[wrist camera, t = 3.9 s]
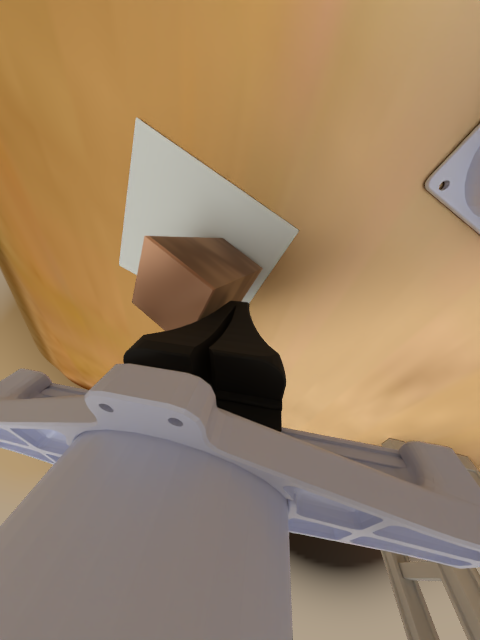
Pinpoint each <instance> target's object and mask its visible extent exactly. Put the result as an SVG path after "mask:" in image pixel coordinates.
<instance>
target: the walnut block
mask: <svg viewBox="0 0 480 640" xmlns="http://www.w3.org/2000/svg"><path fill="white" fill-rule="evenodd" d="M262 269H263V268H262V267H260V266H259V265H258V264H257V263H255V262H254V261H253V260H251V259H250V258H249V257H247V256H246V255H245V254H243V253H242V252H241V251H239V250H238V249H237V248H235V247H234V246H233V245H231V244H230V243H229V242H227V241H226V240H225V239H223V238H203V237H170V236H144V241H143V246H142V252H141V257H140V262H139V267H138V273H137V278H136V283H135V289H134V294H133V299H132V303H133V304H135V305H136V306H137V307H138V308H139V309H140V310H142V311H143V312H144V313H145V314H146V315H147V316H149V317H150V318H151V319H152V320H153V321H154V322H156V323H157V324H158V325H159V326H160V327H161V328H163V329H164V330H165V331H168V330H172V329H176V328H179V327H182V326H185V325H188V324H191V323H194V322H196V321H198V320H200V319H202V318H204V317H206V316H208V315H210V314H211V313H213V312H215V311H216V310H218V309H219V308H221V307H222V306H224V305H225V304H226V303H228V302H229V301H242V300H243V298H244V297H245V295H246V293H247V292H248V290H249V289H250V287H251V286H252V284H253V283H254V281H255V280H256V278H257V277H258V275H259V274H260V272H261V270H262Z"/></svg>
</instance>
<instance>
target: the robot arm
mask: <svg viewBox="0 0 480 640" xmlns="http://www.w3.org/2000/svg"><path fill="white" fill-rule="evenodd" d="M443 181H444V182H445V185H444V187H443V188H442V189H441V190H439V186H440V184H441V183H442V182H443ZM425 188H426V190H427V191H428V192H430V193H431V194H432V195H433V196H434V197H436V198H437V199H438V200H439V201H440V202H442V203H443V204H444V205H445V206H446V207H448V208H449V209H450V210H451V211H452V212H453V213H455V214H456V215H457V216H458V217H459V218H461V219H462V220H463V221H464V222H465V223H467V224H468V225H469V226H470V227H471V228H473V229H474V230H475V231H476V232H477V233H479V234H480V124H479V125H478V126H477V127H476V128H475V129H474V130H473V131H472V132H471V133H470V134H469V135H468V136H467V138H466V139H465V140H464V141H463V142H462V143H461V144H460V145H459V146H458V147H457V148H456V149H455V150H454V151H453V152H452V153H451V154H450V155H449V156H448V158H447V159H446V160H445V161H444V162H443V163H442V164H441V165H440V166H439V167H438V168H437V169H436V170H435V171H434V172H433V173H432V174H431V175H430V177H429V178H428V179H427V181H426V183H425ZM123 361H124V364H116V365H115V366H114V367H113V368H112V369H111V370H110V371H109V372H108V373H107V374H106V375H105V376H103V377H102V378H101V379H100V380H99V381H98V382H97V383H96V384H95V385H94V386H93V387H92V388H91V389H90V390H86V389H80V388H75V387H70V386H65V385H60V384H54V383H52V381H51V380H50V378H49V377H48V376H47V375H46V374H44V373H42V372H39V371H34V370H29V369H19V370H18V371H16V372H15V373H13V374H11V375H10V376H8V377H6V378H5V379H3V380H2V381H0V448H3V449H7V450H11V451H14V452H17V453H20V454H24V455H27V456H30V457H33V458H36V459H39V460H42V461H45V462H48V463H51V464H53V466H52V467H51V468H50V470H49V471H48V472H47V473H46V474H45V475H44V476H43V478H42V479H41V480H40V481H39V482H38V483H37V485H36V486H35V487H34V488H33V489H32V490H31V491H30V493H29V494H28V495H27V496H26V497H25V498H24V500H23V501H22V502H21V503H20V504H19V505H18V506H17V508H16V509H15V510H14V511H13V512H12V513H11V515H10V516H9V517H8V518H7V519H6V520H5V522H4V523H3V524H2V525H1V526H0V640H293V633H292V606H291V580H290V553H289V532H292V533H298V534H303V535H308V536H313V537H318V538H323V539H328V540H333V541H338V542H343V543H348V544H353V545H359V546H364V547H368V548H374V549H378V550H383V551H388V552H393V553H397V554H402V555H406V556H410V557H415V558H419V559H424V560H428V561H432V562H436V563H440V564H443V565H447V566H451V567H455V568H460V569H463V568H478V567H480V487H479V485H478V484H477V483H476V481H475V480H474V478H473V477H472V476H471V474H470V473H469V472H468V470H467V469H466V467H465V466H464V465H463V463H462V462H461V461H460V459H459V458H458V456H457V455H456V454H455V452H454V451H453V450H452V448H449V447H447V446H441V445H436V444H430V443H425V442H419V441H410V442H406V443H404V444H403V445H402V446H401V447H400V449H399V450H397V449H392V448H387V447H381V446H376V445H371V444H366V443H361V442H355V441H350V440H345V439H340V438H335V437H329V436H324V435H319V434H314V433H309V432H304V431H298V430H293V429H288V428H283V427H281V411H282V398H283V394H284V390H285V387H286V376H285V371H284V367H283V364H282V361H281V358H280V355H279V354H278V353H277V352H276V351H275V350H273V349H272V348H271V347H270V346H269V345H268V344H267V343H266V342H265V341H264V340H263V339H262V337H261V336H260V335H259V333H258V332H257V330H256V328H255V326H254V324H253V322H252V319H251V316H250V312H249V303H248V302H241V301H229V302H228V303H226V304H225V305H224V306H222V307H221V308H219V309H218V310H216V311H215V312H213V313H211V314H210V315H208V316H206V317H204V318H202V319H200V320H198V321H196V322H194V323H191V324H188V325H185V326H182V327H179V328H176V329H172V330H168V331H164V332H159V333H153V334H147V335H143V336H142V337H141V338H140V339H139V340H138V341H137V342H136V343H135V344H134V345H133V346H132V347H131V348H130V349H129V350H127V351H126V353H125V355H124V360H123Z"/></svg>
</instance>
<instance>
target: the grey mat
mask: <svg viewBox="0 0 480 640" xmlns="http://www.w3.org/2000/svg"><path fill="white" fill-rule="evenodd" d="M298 232H299V230H298V229H297V228H295V227H294V226H292V225H291V224H289V223H288V222H286V221H285V220H284V219H282V218H281V217H279V216H278V215H276V214H275V213H273V212H272V211H271V210H269V209H268V208H266V207H265V206H263V205H262V204H261V203H259V202H258V201H256V200H255V199H253V198H252V197H250V196H249V195H248V194H246V193H245V192H243V191H242V190H240V189H239V188H237V187H236V186H235V185H233V184H232V183H230V182H229V181H227V180H226V179H225V178H223V177H222V176H220V175H219V174H217V173H216V172H214V171H213V170H212V169H210V168H209V167H207V166H206V165H204V164H203V163H201V162H200V161H199V160H197V159H196V158H194V157H193V156H191V155H190V154H189V153H187V152H186V151H184V150H183V149H181V148H180V147H178V146H177V145H176V144H174V143H173V142H171V141H170V140H168V139H167V138H165V137H164V136H163V135H161V134H160V133H158V132H157V131H155V130H154V129H153V128H151V127H150V126H148V125H147V124H145V123H144V122H142V121H141V120H140V119H138V118H136V122H135V130H134V139H133V148H132V156H131V165H130V174H129V182H128V191H127V200H126V208H125V217H124V226H123V234H122V243H121V252H120V260H119V265H120V266H121V267H123V268H125V269H127V270H129V271H130V272H132V273H134V274H136V275H137V273H138V267H139V262H140V257H141V252H142V246H143V241H144V236H170V237H203V238H223V239H225V240H226V241H227V242H229V243H230V244H231V245H233V246H234V247H235V248H237V249H238V250H239V251H241V252H242V253H243V254H245V255H246V256H247V257H249V258H250V259H251V260H253V261H254V262H255V263H257V264H258V265H259V266H260V267H262V268H263V269H262V270H261V272H260V274H259V275H258V277H257V278H256V280H255V281H254V283H253V284H252V286H251V287H250V289H249V290H248V292H247V293H246V295H245V297H244V298H243V300H242V301H241V302H248V303H250V301H251V300H252V298H253V297H254V295H255V294H256V292H257V291H258V290H259V288H260V287H261V285H262V284H263V282H264V281H265V279H266V278H267V277H268V275H269V274H270V272H271V271H272V269H273V268H274V266H275V265H276V264H277V262H278V261H279V259H280V258H281V256H282V255H283V253H284V252H285V250H286V249H287V248H288V246H289V245H290V243H291V242H292V240H293V239H294V237H295V236H296V235H297V233H298Z"/></svg>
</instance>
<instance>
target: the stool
mask: <svg viewBox="0 0 480 640" xmlns="http://www.w3.org/2000/svg"><path fill="white" fill-rule="evenodd" d="M404 443H405V442H403V441H399V440H395V439H390V438H389V439H388V440H386V441H385V442H384V443H382V446H383V447H387V448H392V449H397V450H399V449H400V447H401V446H402V445H403V444H404ZM456 455H457V456H458V458H459V459H460V461H461V462H462V463H463V465H464V466H465V467H466V469H467V470H468V472H469V473H470V474H471V476H472V477H473V478H474V480H475V481H476V483H477V484H478V485H479V487H480V472H479V471H478V470H477V468H476V467H475V466H474V464H473V463H472V462H471V460H470V459H469V458H468V457H466V456H462V455H458V454H456ZM381 553H382V556H383V559H384V563H385V566H386V569H387V573H388V576H389V579H390V583H391V586H392V589H393V592H394V596H395V599H396V602H397V606H398V609H399V612H400V615H401V619H402V622H403V625H404V629H405V632H406V635H407V639H408V640H439V637H438V634H437V632H436V629H435V626H434V624H433V621H432V618H431V616H430V613H429V611H428V608H427V605H426V602H425V600H424V597H423V594H422V592H421V589H420V587H419V584H418V581H417V580H422V581H424V580H425V581H442V582H443V584H444V587H445V589H446V591H447V593H448V596H449V598H450V600H451V603H452V605H453V607H454V609H455V612H456V614H457V616H458V618H459V621H460V623H461V625H462V627H463V629H464V632H465V634H466V636H467V639H468V640H480V575H479V573H478V571H477V569H476V568H463V569H460V568H455V567H451V566H447V565H443V564H440V563H436V562H432V561H418V562H410V560H409V557H408V556H406V555H402V554H397V553H393V552H388V551H383V550H381Z"/></svg>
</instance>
